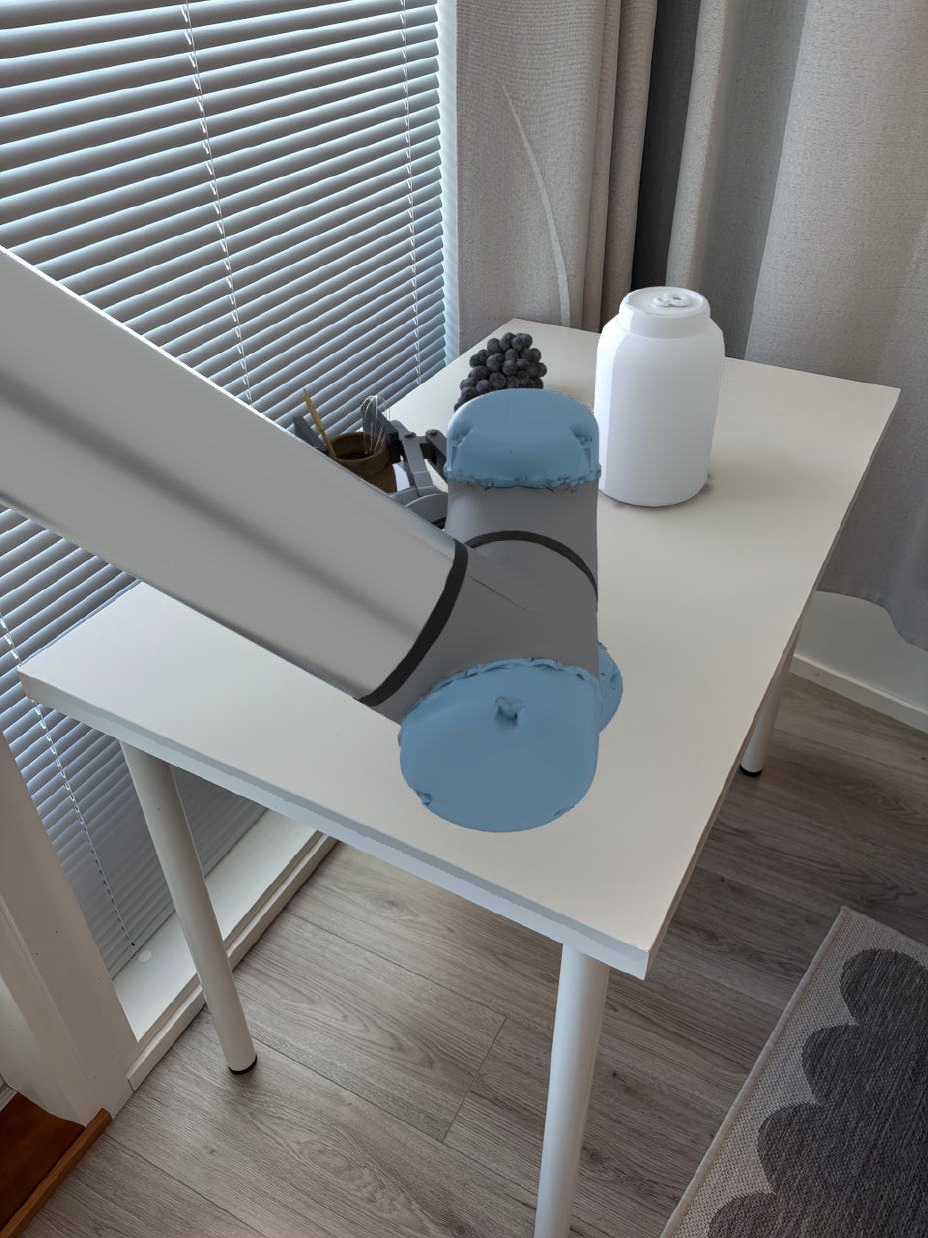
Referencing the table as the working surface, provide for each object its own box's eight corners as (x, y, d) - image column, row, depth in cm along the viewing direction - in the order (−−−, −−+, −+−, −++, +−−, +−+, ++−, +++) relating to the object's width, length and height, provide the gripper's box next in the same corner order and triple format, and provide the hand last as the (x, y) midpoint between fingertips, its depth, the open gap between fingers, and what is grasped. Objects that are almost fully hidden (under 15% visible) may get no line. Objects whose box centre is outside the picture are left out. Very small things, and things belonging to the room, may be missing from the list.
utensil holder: (404, 536, 77) (390, 399, 69) (326, 545, 76) (303, 409, 69) (397, 498, 81) (383, 366, 74) (323, 506, 81) (302, 374, 73)
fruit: (467, 366, 107) (547, 319, 115) (417, 370, 112) (497, 326, 121) (488, 437, 110) (564, 388, 119) (439, 438, 116) (515, 391, 125)
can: (674, 442, 110) (695, 268, 97) (727, 497, 100) (757, 312, 88) (573, 461, 107) (580, 285, 95) (617, 519, 98) (632, 331, 85)
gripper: (327, 656, 61) (234, 489, 78) (570, 576, 67) (435, 437, 83) (311, 561, 57) (215, 406, 73) (574, 484, 62) (430, 356, 79)
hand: (333, 422), depth 78 cm, fingers closed on utensil holder, 5 cm apart
